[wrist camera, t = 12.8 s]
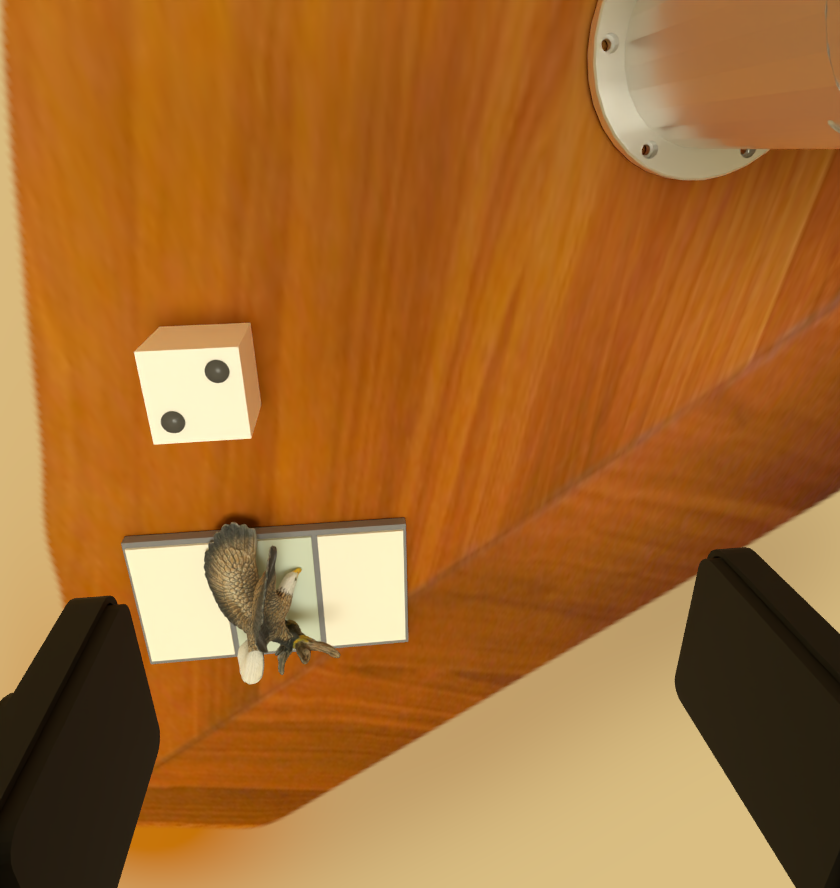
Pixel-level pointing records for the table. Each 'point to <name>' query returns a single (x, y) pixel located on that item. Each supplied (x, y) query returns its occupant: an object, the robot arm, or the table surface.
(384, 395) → the table surface
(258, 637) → the eagle figurine
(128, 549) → the game board
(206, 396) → the die
